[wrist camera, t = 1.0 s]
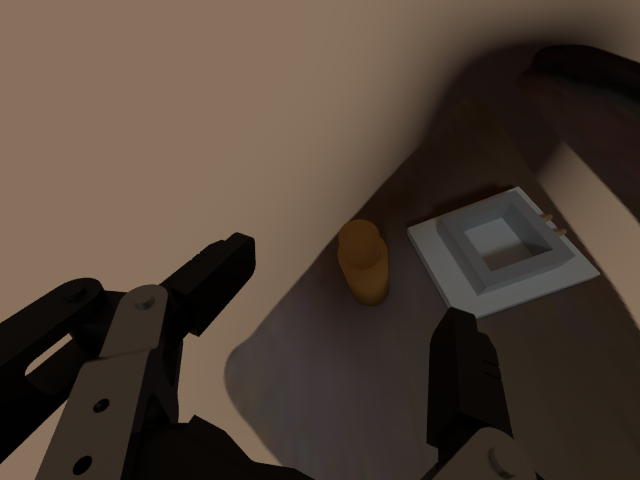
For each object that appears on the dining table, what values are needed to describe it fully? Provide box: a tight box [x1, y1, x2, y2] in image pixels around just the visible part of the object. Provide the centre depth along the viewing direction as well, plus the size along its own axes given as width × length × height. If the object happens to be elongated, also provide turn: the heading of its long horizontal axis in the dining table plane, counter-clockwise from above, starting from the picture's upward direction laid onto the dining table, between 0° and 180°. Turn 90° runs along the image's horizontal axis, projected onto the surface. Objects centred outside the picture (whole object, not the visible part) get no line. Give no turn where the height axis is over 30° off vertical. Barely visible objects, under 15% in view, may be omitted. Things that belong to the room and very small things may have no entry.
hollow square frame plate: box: [407, 186, 600, 319], centre depth 28 cm, size 14×12×4 cm
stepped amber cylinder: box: [337, 219, 389, 306], centre depth 26 cm, size 4×4×13 cm
